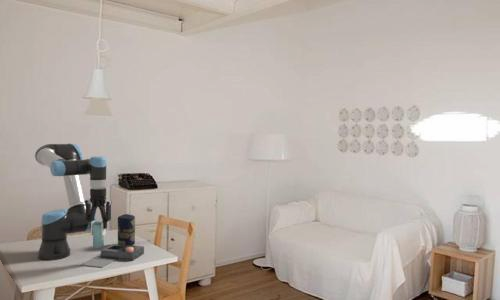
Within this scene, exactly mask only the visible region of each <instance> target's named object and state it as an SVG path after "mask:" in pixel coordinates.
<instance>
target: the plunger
mask: <svg viewBox="0 0 500 300" xmlns="http://www.w3.org/2000/svg"><path fill="white" fill-rule="evenodd" d="M126 251H128V252H132V251H134V247H127V248H126Z"/></svg>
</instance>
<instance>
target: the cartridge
mask: <svg viewBox="0 0 500 300" xmlns="http://www.w3.org/2000/svg"><path fill="white" fill-rule="evenodd" d="M102 222H103V221H101V220H99V221H97V220H96V222H94V224H93V235H92V247H93V248H95V249H96V248H102V247H104V245H105V244H104V242H105V239H104V238H105V237H104V236H105V235H103V236H101V223H102Z"/></svg>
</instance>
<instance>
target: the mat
mask: <svg viewBox="0 0 500 300" xmlns="http://www.w3.org/2000/svg"><path fill="white" fill-rule="evenodd" d="M116 260H117V259H109V258H101V257H97V256H96V257H95V256H94V257H92V258H90V259H88V260H86V261H85V262H83V263H81V264H79V266H81V267H90V268H91V267H92V268H104V267H106V266H108V265H109V263H110V264H111V263H113V262H115V261H116Z"/></svg>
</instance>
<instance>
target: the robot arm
mask: <svg viewBox="0 0 500 300" xmlns="http://www.w3.org/2000/svg"><path fill="white" fill-rule="evenodd" d="M34 159H35V161H36V162H37V163H38V164H40V165H42V166H46V167H47V168H49V169H50V174H51V176H53V177H63V180H64V181H63V182H64V186H65V191H66V195H67V202H68V205H69V207H68V208H67V209H64V208H62V209H61V208H60V209H53V210H50V211H46V212H45V213H43V214H42V216H41V244H40V246H39V250H38V252H37V257H38V259H39V260H43V261H45V260H46V261H51V260H53V261H54V260H55V261H56V260H61V259H64V258H68V256H70V255H71V248H70V246H69V243H68V240H67V237H68V234H75V233H76V234H77V233H84V232H89V231H90V236H93V224H94V222H96V221H97V209H99V212H100V216H101V220H102V223H101V236H103V235H104V236H105V235H106V233H107V231H106V230H107V228H108V222H110V221H111V220H112V208H111V206H112V203H113V201H112V200H108V198H107V188H106V187H107V165H108V164H107V157H106V156H90V158H86V159H83V152H82V150H81V147H80V146H79V145H78V144H76V143H49V144H44V145H42V146H40V147H39V148H37V150H36V151H35V154H34ZM81 175H82V176H84V175H89V188H90V189H89V195H90V198H89V199H86V196H85V192H84V188H83V184H82V179H81Z"/></svg>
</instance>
